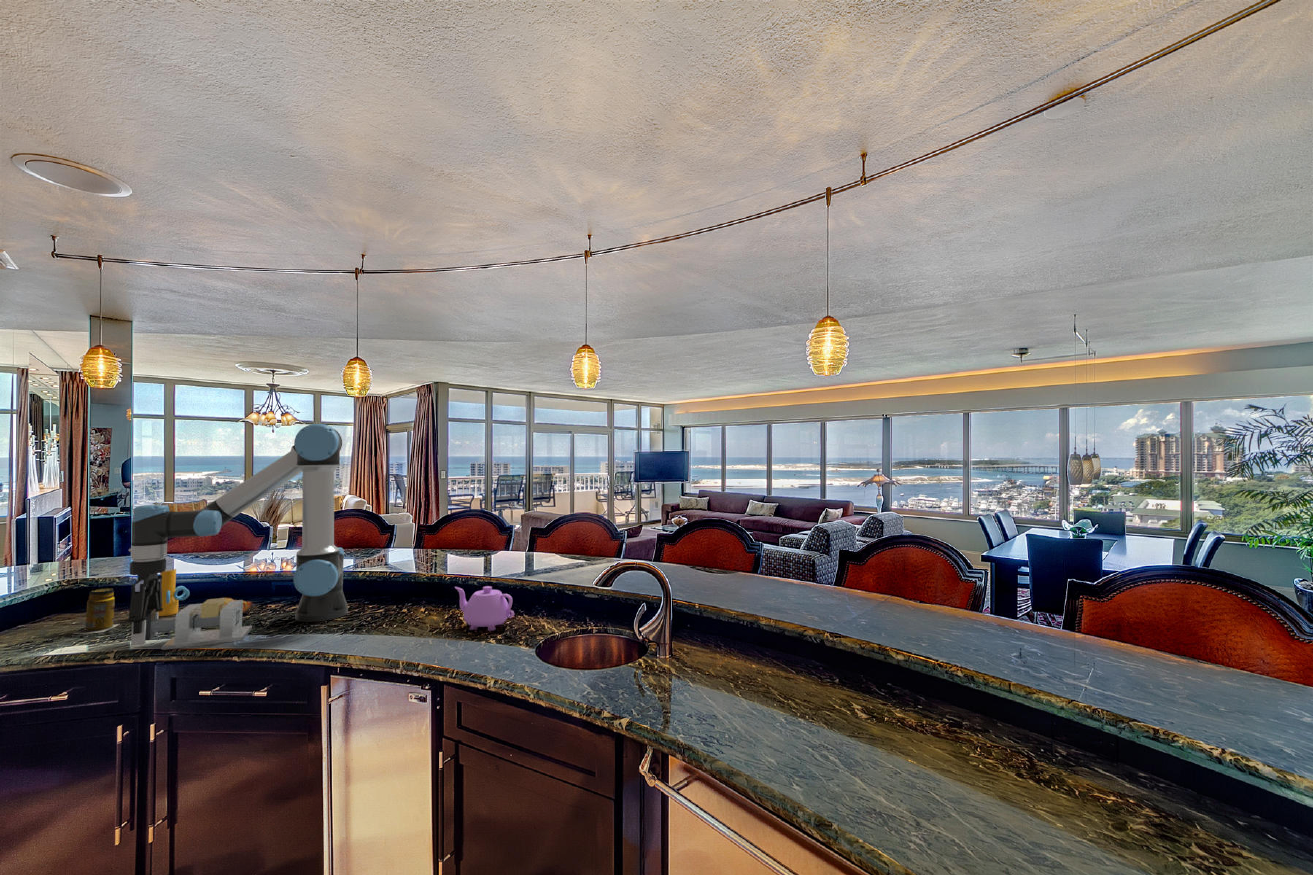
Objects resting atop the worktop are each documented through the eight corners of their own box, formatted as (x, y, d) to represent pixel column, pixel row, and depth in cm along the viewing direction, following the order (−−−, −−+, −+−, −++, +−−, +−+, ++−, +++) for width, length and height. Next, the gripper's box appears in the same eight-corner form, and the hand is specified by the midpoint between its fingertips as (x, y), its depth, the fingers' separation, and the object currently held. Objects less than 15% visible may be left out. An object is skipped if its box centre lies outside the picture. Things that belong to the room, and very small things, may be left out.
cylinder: (158, 620, 174) (160, 574, 175) (133, 618, 176) (136, 573, 177) (197, 610, 186) (199, 567, 187) (173, 608, 188) (175, 566, 189)
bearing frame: (251, 628, 166) (253, 598, 166) (242, 640, 155) (243, 608, 156) (177, 636, 158) (179, 605, 158) (161, 649, 147) (163, 615, 148)
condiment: (120, 624, 170) (122, 586, 170) (103, 632, 162) (105, 592, 163) (90, 626, 167) (92, 588, 168) (72, 635, 159) (74, 594, 160)
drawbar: (238, 627, 161) (239, 600, 161) (235, 630, 158) (236, 603, 158) (139, 638, 151) (141, 609, 151) (134, 641, 148) (136, 612, 148)
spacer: (224, 611, 161) (224, 597, 161) (218, 616, 155) (218, 602, 155) (207, 612, 159) (208, 599, 159) (200, 618, 154) (201, 604, 154)
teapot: (443, 631, 164) (444, 591, 165) (464, 618, 178) (465, 580, 179) (505, 634, 162) (505, 593, 163) (521, 620, 176) (522, 582, 177)
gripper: (146, 554, 159) (142, 631, 158) (113, 566, 140) (109, 653, 139) (178, 552, 162) (175, 627, 161) (151, 564, 144) (146, 649, 143)
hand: (144, 639), depth 150 cm, fingers open, 8 cm apart
